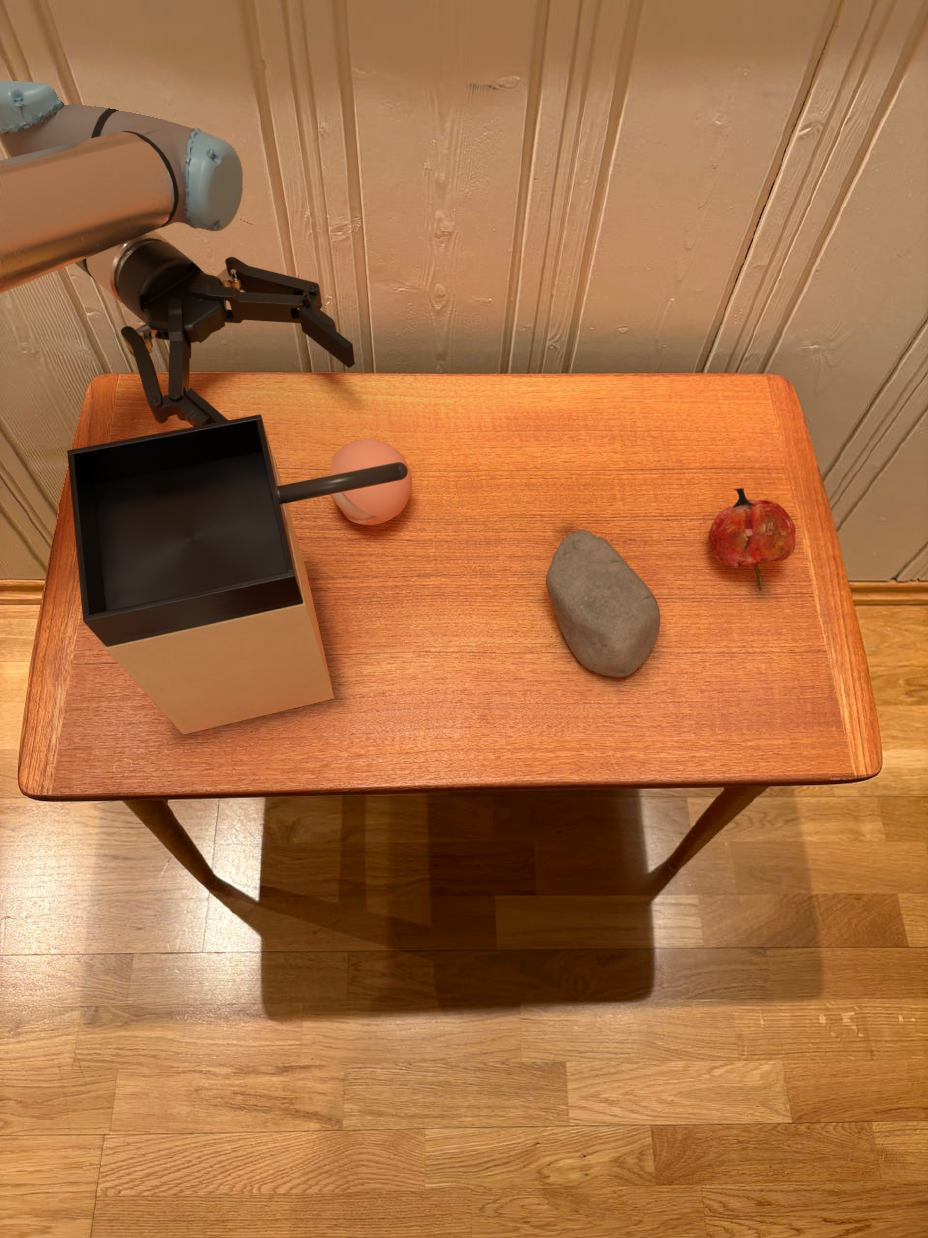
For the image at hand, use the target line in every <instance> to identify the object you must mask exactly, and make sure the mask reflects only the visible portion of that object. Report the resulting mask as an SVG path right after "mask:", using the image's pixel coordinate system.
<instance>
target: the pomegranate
mask: <svg viewBox="0 0 928 1238" xmlns="http://www.w3.org/2000/svg"><path fill="white" fill-rule="evenodd" d="M733 490H734V491H736V493H737V495H738V499H737V501H736V502H735V503H734V504H733V505H732V506H729V507H726V508H724V509H723V510H721V511H719V512H718V514H717V515H716V516H715V518H714V520H713V522H712V523H711V526H710V529H709V534H708V540H709V541H708V543H709V547H710V551H711V552H712V554H713V555H714V557H715V559H717V561H719V562H720V563H721V564H724V565H727V566H728V567H731V568H734V569H735V568H736V569H738V568H742V567H744V566H747V567H754V571H755V573H756V577H757V580H758V585H759V590H760V591H763V586H762V579H761V578H762V577H761V571H760V568H759V566H760V565H762V564H766V563H771V562H783V561H785V560H787V559H788V558H789V557H790V556H792V555H793V553H795V550H796V545H797V543H796V530H797V528H796V525H795V523H794V520H793V519H792V517H791V516H790V514H789V513H788V512H787V510H785V508H784V507H783V506H782V505H781V504H779V503H776V502H774V501H772V500H768V499H757V500H755V499H748V498H747V496H746V493H745V488H744V487H738V488H737V487H736V488H733Z"/></svg>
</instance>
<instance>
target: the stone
mask: <svg viewBox="0 0 928 1238" xmlns="http://www.w3.org/2000/svg"><path fill="white" fill-rule="evenodd" d="M545 587H546V591H547V594H548V596H549V599H550V603H551V605H552V608H553V611H554V614H555V617H556V619H557V623H558V625H559V628H560V631H561V633H562V636H563V637H564V640H565V641H566V644H567V645H568V647H569V649H570V651H571V653H572V654H573V655H574V657H575V658H576V659H577V661H578V662H579V663H580V664H581V665H582V666H583V667H585V668H586V669H588V670H589V671H592V672H594V673H596V674H599V675H603V676H607V677H613V678H623V677H628V676H630V675H632V674H633V673H634V672H636V671H637V670H638V669H639V668H640V667H641V666H642V664H644V662H645V661H646V660H647V658H648V657H649V655H650V654H651V652H652V650H653V648H654V647H655V644H656V642H657V639H658V636H659V633H660V627H661V610H660V607H659V604H658V601H657V599H656V597H655V594H654V593H653V592H652V590H651V589H650V588H649V586H647V584H646V583H645V581H644V580H643V579H642V578H641V577H640V576H639V575H638V574H637V573H636V572H635V571H634V569H633V568H631V567H630V565H629V564H628V562H626V560H625V559H624V558H623V557H622V555H620V553H619V552H618V551H617V550H616V549H615V548H614V547H613V546H612V545H611V544H610V542H609V541H608V540H607V539H605V538H604V537H601V536H597V535H595V534H594V533H593V532H591V531H590V530H586V529H581V530H577V531H574V532H573V533H571V534H570V535H568V536H567V537H565V538H564V539H563V541H562V542H560V544H559V545H558V547H557V549H556V550H555V552H554V553H553V555H552V559H551V562H550V565H549V567H548V569H547V572H546V576H545Z"/></svg>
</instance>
